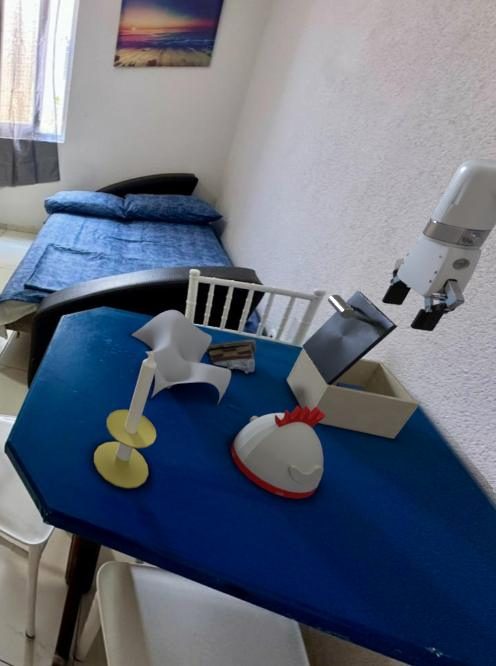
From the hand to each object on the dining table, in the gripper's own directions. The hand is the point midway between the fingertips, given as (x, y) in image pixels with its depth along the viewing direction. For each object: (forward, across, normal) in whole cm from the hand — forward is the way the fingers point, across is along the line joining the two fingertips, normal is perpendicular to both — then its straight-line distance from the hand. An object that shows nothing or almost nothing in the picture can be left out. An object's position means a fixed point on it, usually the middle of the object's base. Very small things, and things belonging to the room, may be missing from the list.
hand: (405, 315), depth 79 cm
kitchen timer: (+25, -22, +21) cm, 39 cm away
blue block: (+24, 0, +1) cm, 24 cm away
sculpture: (+25, +3, +36) cm, 44 cm away
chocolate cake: (+25, +9, +22) cm, 35 cm away
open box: (+25, 0, +2) cm, 25 cm away
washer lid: (+7, 0, +7) cm, 10 cm away
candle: (+25, -31, +49) cm, 63 cm away
